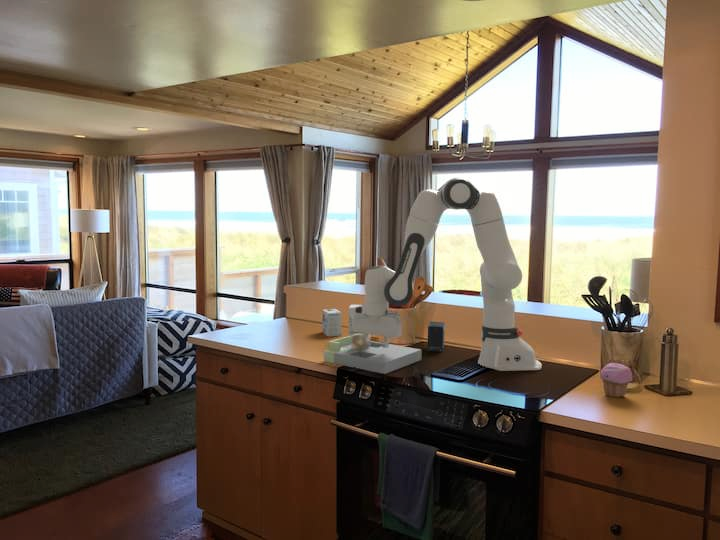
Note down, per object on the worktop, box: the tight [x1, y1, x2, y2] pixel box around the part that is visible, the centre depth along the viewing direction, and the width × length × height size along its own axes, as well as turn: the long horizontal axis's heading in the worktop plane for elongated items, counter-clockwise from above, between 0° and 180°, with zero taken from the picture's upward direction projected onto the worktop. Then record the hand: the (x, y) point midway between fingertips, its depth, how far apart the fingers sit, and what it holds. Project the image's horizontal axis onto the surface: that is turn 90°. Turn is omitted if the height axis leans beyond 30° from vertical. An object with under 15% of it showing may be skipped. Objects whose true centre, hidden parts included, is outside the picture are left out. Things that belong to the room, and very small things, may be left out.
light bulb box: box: [321, 308, 343, 337], centre depth 263 cm, size 11×7×11 cm, turn 17°
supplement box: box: [348, 304, 371, 340], centre depth 250 cm, size 9×9×15 cm
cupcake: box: [599, 362, 633, 398], centre depth 174 cm, size 9×9×10 cm
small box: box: [426, 320, 446, 353], centre depth 234 cm, size 11×6×10 cm, turn 168°
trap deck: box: [323, 335, 422, 375], centre depth 215 cm, size 28×24×7 cm
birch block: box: [351, 333, 369, 350], centre depth 217 cm, size 5×5×5 cm
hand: (376, 346), depth 213 cm, fingers open, 6 cm apart
